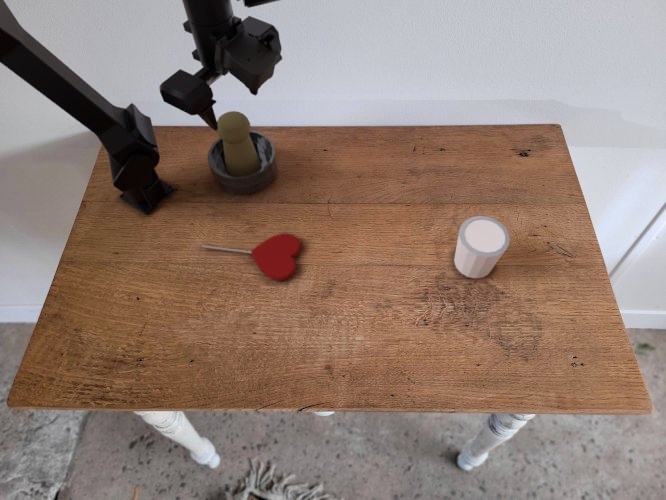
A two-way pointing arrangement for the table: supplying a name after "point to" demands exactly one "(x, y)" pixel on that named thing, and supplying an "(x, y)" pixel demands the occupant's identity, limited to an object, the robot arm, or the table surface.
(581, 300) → the table surface
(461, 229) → the white cylinder
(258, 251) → the lollipop
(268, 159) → the bowl
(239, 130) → the olive rounded peg
